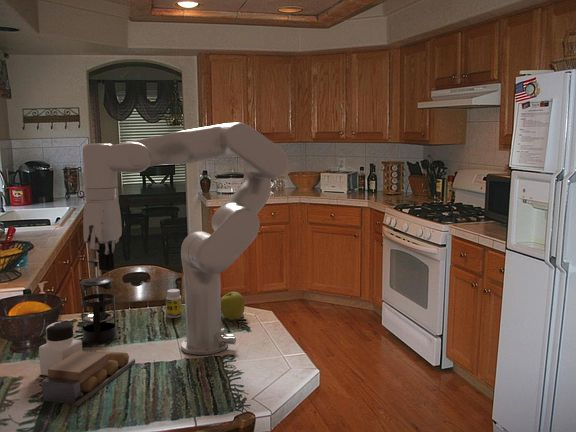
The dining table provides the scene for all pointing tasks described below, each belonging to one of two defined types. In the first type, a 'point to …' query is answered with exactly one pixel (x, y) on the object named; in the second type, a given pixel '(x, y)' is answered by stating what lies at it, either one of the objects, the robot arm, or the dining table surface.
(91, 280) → the french press
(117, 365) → the track
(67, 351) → the medicine bottle
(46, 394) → the block
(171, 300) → the supplement bottle
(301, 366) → the dining table surface
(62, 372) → the slab
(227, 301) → the apple
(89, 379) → the roller
